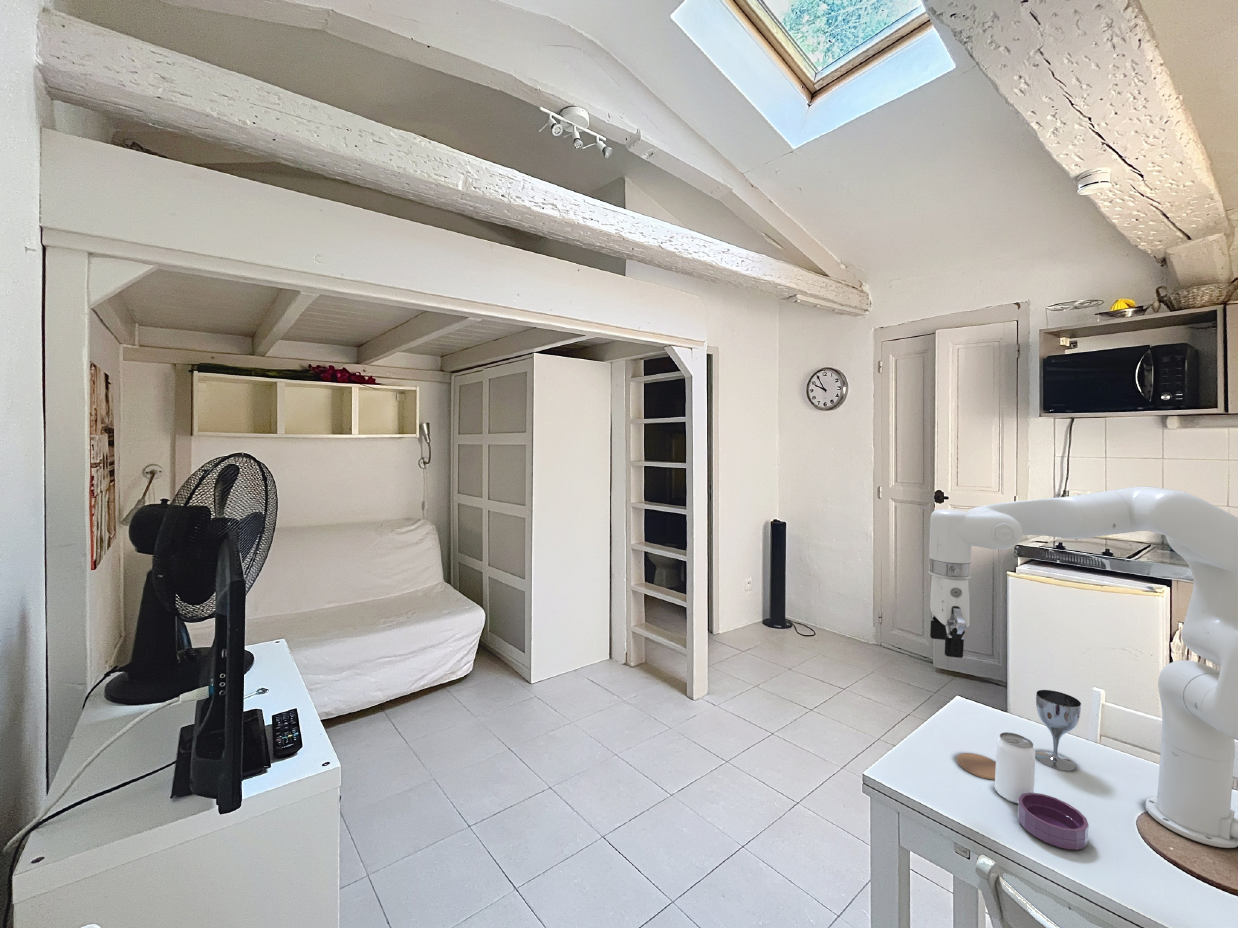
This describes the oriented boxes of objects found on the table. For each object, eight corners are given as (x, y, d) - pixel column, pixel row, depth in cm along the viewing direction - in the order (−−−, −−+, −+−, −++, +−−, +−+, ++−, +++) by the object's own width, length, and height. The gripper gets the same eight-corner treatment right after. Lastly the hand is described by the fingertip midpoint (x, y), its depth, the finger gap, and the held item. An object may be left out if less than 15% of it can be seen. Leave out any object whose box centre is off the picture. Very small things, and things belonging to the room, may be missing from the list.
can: (1039, 807, 106) (1043, 750, 106) (1004, 803, 108) (1007, 746, 107) (1022, 786, 113) (1025, 732, 112) (988, 782, 114) (991, 729, 113)
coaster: (1011, 769, 118) (1011, 768, 118) (995, 784, 113) (995, 783, 113) (966, 750, 126) (966, 748, 126) (949, 763, 121) (949, 761, 121)
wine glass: (1073, 757, 123) (1077, 695, 122) (1080, 775, 116) (1084, 710, 116) (1031, 746, 127) (1034, 686, 127) (1035, 763, 121) (1038, 700, 120)
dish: (1094, 835, 99) (1095, 815, 99) (1077, 860, 93) (1078, 839, 93) (1028, 804, 107) (1029, 785, 107) (1009, 825, 101) (1010, 805, 101)
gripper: (986, 580, 101) (982, 666, 102) (955, 560, 118) (951, 634, 119) (942, 577, 103) (938, 661, 104) (917, 557, 120) (915, 630, 121)
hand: (945, 647), depth 112 cm, fingers open, 9 cm apart
